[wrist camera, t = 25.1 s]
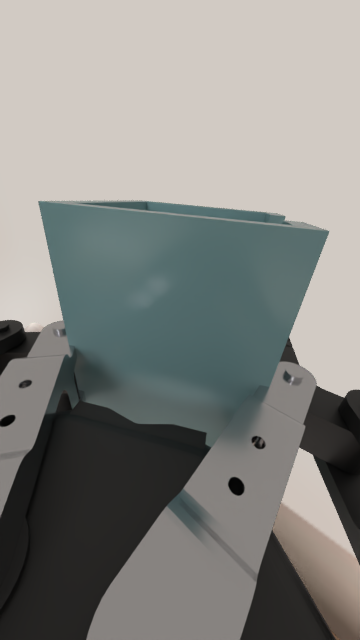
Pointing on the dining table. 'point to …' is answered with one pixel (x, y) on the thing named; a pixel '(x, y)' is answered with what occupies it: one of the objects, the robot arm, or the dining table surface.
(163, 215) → the teal open box
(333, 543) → the dining table surface
